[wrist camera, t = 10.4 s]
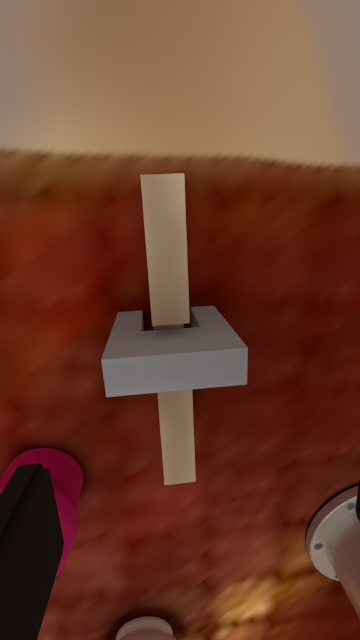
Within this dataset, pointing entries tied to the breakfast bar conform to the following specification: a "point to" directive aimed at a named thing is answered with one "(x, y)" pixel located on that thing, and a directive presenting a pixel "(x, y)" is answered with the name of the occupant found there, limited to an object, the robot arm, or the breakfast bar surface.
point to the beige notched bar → (170, 310)
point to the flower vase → (146, 629)
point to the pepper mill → (56, 488)
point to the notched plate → (173, 355)
